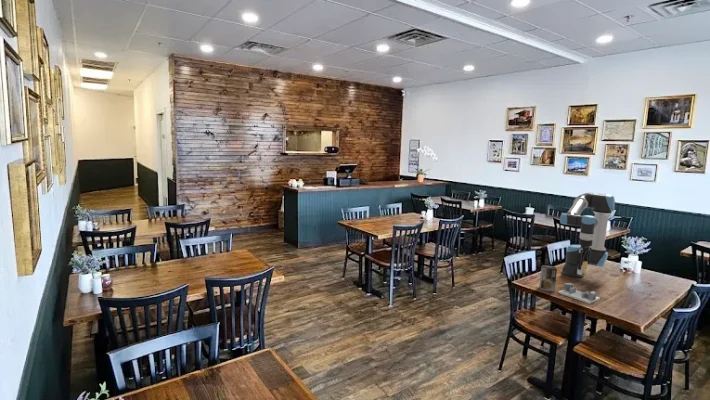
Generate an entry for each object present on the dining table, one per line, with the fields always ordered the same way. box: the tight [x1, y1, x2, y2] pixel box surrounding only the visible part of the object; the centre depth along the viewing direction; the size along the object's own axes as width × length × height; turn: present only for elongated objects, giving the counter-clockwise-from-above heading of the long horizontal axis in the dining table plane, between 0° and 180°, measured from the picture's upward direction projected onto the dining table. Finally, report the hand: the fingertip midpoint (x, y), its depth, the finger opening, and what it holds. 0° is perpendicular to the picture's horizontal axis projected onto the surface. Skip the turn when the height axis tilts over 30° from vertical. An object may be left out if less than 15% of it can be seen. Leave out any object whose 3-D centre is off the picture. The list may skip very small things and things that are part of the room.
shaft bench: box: [557, 282, 601, 305], centre depth 258 cm, size 20×14×6 cm
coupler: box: [579, 260, 589, 276], centre depth 256 cm, size 5×5×9 cm
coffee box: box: [539, 264, 558, 292], centre depth 268 cm, size 9×6×16 cm
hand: (581, 273), depth 256 cm, fingers closed on coupler, 5 cm apart
